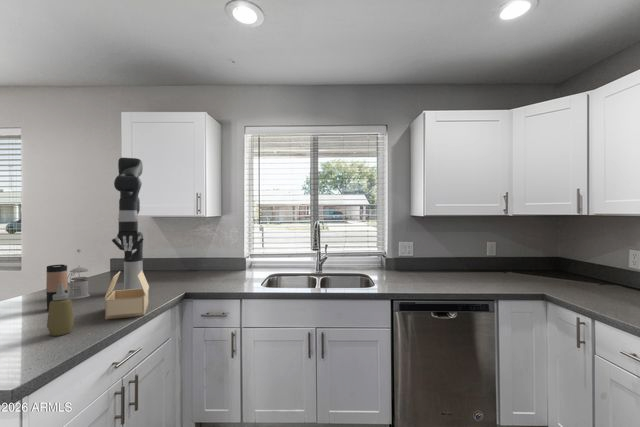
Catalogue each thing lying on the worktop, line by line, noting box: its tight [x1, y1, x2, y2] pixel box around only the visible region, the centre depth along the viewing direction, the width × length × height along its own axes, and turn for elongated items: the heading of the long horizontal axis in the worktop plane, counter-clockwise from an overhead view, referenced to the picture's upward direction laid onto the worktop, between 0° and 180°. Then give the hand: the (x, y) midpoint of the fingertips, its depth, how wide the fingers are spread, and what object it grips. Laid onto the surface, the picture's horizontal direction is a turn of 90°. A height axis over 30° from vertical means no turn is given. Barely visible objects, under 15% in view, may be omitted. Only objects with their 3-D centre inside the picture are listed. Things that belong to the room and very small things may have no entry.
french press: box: [67, 248, 91, 300], centre depth 180 cm, size 10×12×25 cm
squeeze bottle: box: [46, 284, 75, 337], centre depth 124 cm, size 8×8×18 cm
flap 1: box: [104, 271, 121, 300], centre depth 150 cm, size 17×1×9 cm, turn 22°
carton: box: [104, 289, 149, 320], centre depth 152 cm, size 23×14×8 cm, turn 22°
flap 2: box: [137, 270, 150, 295], centre depth 154 cm, size 17×1×9 cm, turn 22°
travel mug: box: [46, 264, 68, 312], centre depth 156 cm, size 8×8×20 cm
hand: (128, 259), depth 152 cm, fingers closed
